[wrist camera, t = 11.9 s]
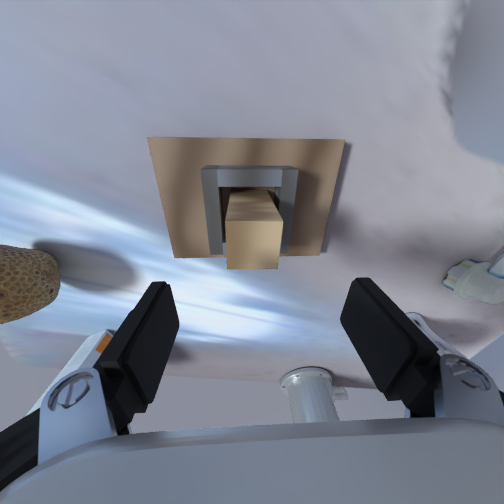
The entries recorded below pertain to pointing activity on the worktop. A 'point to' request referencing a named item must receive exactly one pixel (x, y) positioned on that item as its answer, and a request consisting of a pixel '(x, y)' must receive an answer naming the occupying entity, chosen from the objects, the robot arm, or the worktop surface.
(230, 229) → the oak peg
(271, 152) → the peg caddy
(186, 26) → the worktop surface
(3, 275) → the natural sponge
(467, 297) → the white handle
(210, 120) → the worktop surface
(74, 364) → the skincare box
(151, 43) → the worktop surface
